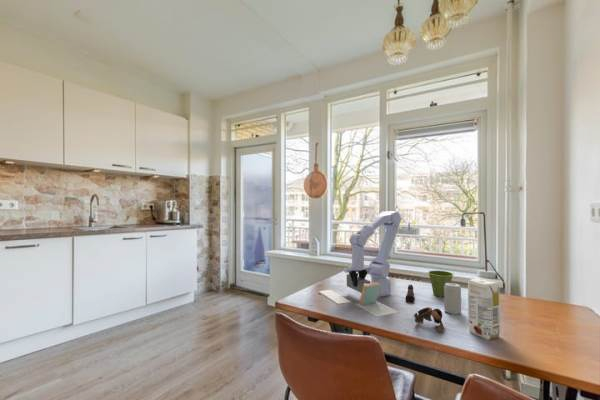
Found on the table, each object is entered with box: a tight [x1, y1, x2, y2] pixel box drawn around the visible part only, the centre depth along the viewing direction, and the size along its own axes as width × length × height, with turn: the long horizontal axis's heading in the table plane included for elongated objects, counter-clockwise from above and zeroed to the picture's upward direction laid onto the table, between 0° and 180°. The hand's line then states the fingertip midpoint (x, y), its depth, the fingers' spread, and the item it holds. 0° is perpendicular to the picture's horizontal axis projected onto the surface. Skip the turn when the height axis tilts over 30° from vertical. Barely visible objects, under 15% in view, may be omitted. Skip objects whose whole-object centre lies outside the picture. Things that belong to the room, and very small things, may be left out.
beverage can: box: [443, 282, 462, 315], centre depth 121 cm, size 6×6×12 cm
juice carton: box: [467, 277, 501, 341], centre depth 100 cm, size 8×9×19 cm
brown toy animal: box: [413, 306, 445, 334], centre depth 107 cm, size 12×10×8 cm
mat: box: [355, 300, 399, 317], centre depth 125 cm, size 12×16×1 cm
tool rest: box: [318, 289, 352, 305], centre depth 139 cm, size 7×20×1 cm, turn 23°
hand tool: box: [405, 284, 416, 304], centre depth 140 cm, size 19×4×5 cm, turn 155°
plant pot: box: [427, 270, 454, 298], centre depth 144 cm, size 12×12×11 cm
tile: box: [358, 282, 381, 305], centre depth 128 cm, size 8×2×10 cm, turn 112°
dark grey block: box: [346, 273, 371, 294], centre depth 137 cm, size 3×16×6 cm, turn 22°
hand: (358, 285), depth 137 cm, fingers closed on dark grey block, 3 cm apart
